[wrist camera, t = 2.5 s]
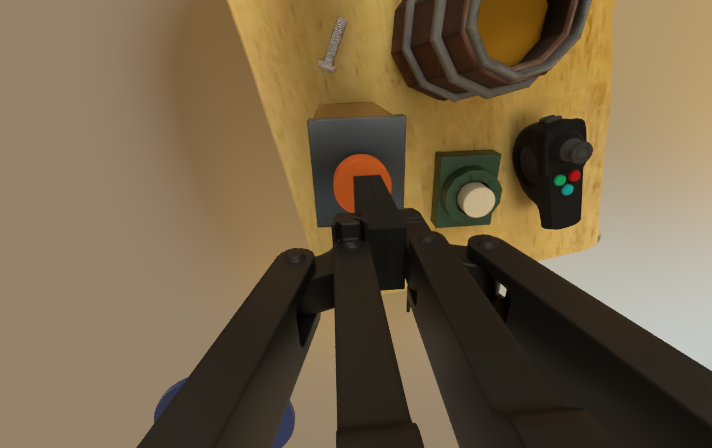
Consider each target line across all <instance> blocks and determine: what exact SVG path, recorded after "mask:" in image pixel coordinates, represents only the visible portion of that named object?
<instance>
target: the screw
mask: <svg viewBox="0 0 712 448" xmlns="http://www.w3.org/2000/svg"><path fill="white" fill-rule="evenodd" d="M337 19H338V20H337V22H336V23H335V24H336V25H335V27H334V28H335V29H334V31H333V34H332V36H331V37H332V38H330V39H331V40H330V43H329V45H328V46H329V47H328V49H327V52H326V54H325V55H326V56H325V58H324V61H322V60H319V59H318V62H317V65H318V66H319V67H320V68H321V69H322V70H326V72H335V71H336V67H335V66H333V65H332V64H333V60H334V59H335V58H334V57H335V54H336V52H337V51H336V50H337V48H338V47H339V46H338V45H339V43H340V42H339V41H340V39H341V38H342V37H341V36H342V34H343V33H342V32H343V30H344V29H345V28H344V27H346V26H345V25H346V23H347V22H346V20H345V19H344V18H342V17H338V18H337Z"/></svg>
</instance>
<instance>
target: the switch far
mask: <svg viewBox="0 0 712 448" xmlns="http://www.w3.org/2000/svg"><path fill="white" fill-rule="evenodd" d="M500 159H501V154H500V153H498V152H496V151H494V150H480V151H461V152H443V153H436V160H435V174H434V188H433V202H432V216H431V221H432V223H433V224H434V226H435V227H436V228H443V227H458V226H473V225H489V224H490V222H491V216H492V212H493V211H494V210H495V208H496V207H497V206H498V204H499V203H500V198H501V192H502V188H501V186H500V183H499V181H498V179H497V178H498V171H499V165H500ZM471 182H479V183H482V184H483V185H484V186H486V187H487V188H489V189H490V190H491V191H492V192H493V193H494V195H495V204H494V207H493V208H492V210H491V211H490V212H489V213H488V214H486V215H485V216H482V217H478V218H474V217H470V216H469V215H467V214H466V213H465V212H464V211H463V210H462V209H461V208H460V207H459V205H458V203H457V195H458V193H459V191H460V189H461V188H462V187H463V186H464V185H466V184H468V183H471Z"/></svg>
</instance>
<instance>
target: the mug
mask: <svg viewBox="0 0 712 448" xmlns="http://www.w3.org/2000/svg"><path fill="white" fill-rule="evenodd" d="M591 2H592V0H403V1H402V2H401V3H400V5H399V6H398V8H397V9H396V10H395V18H394V29H393V40H392V52H391V54H392V56H393V58H394V60H395V62H396V64H397V66H398V67H399V69H400V71H401V73H402V75H403V77H404V79H405V81H406V83H407V85H408V87H411V88H413V89H415V90H417V91H420V92H422V93H424V94H426V95H429V96H431V97H433V98H436V99H438V100H442V101H445V100H448V99H449V100H451V101H454V102H455V101H459V100H462V99H466V98H469V97H473V96H476V95H478V96H480V97H483V98H485V99H489V98H492V97H496V96H499V95H503V94H506V93H510V92H513V91H517V90H520V89H524V88H527V87H529V86H530V85H531V84H532V83H533V82H534V81H535V80H536V79H537V78H538V77H539V76H541V75H544V74H546V73H547V72H548V71H549V70H551V69H552V68H553V66H554V65H555V64H556V63H557V62H558V61H559V60H560V59H561V58H562V57H563V56H564V55H565V54H566V52H567V51H568V50H569V49H570V48H571V47H572V46H573V45H574V44H575V43H576V42H577V41H578V40H579V38H580V37H581V35H582V31H583V28H584V25H585V21H586V18H587V15H588V12H589V8H590V5H591Z"/></svg>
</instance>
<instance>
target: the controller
mask: <svg viewBox="0 0 712 448" xmlns="http://www.w3.org/2000/svg"><path fill="white" fill-rule="evenodd" d="M592 152H593V147H592V145H591V144H590V143H589V142H587V140H586V126H585V121H584V120H582V119H578V118H576V119H562V116H555V115H550V116H547V117H544V118H541V119H540V120H539V122H537V123H534V124H532V125H529V126H527V127H526V128H524V129H523V130H522V131H521V132H520V133H519V135H518V137H517V139H516V141H515V145H514V148H513V162H514V169H515V172H516V175H517V178H518V180H519V183H520V185H521V187H522V189H523V191H524V192H525V193H526V195H527V196H528V197H529V198H530V199H531V200H532V201H533V202H534V203H535V204H536V205H537V207H538V209H539V213H540V219H541V226H542V227H543V228H544V229H555V230H557V229H563V228H566V227H569V226H573V225H575V224H577V223H578V222H579V221H580V220H581V204H582V181H583V167H584V165H585V163H586V161H587V160H588V159H589V158H590V157H591V155H592Z"/></svg>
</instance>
